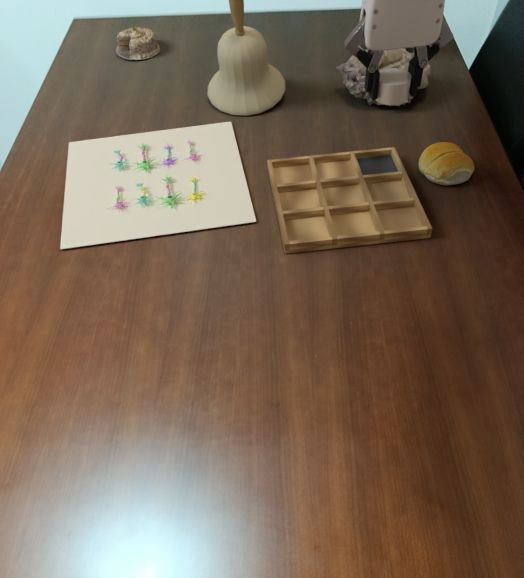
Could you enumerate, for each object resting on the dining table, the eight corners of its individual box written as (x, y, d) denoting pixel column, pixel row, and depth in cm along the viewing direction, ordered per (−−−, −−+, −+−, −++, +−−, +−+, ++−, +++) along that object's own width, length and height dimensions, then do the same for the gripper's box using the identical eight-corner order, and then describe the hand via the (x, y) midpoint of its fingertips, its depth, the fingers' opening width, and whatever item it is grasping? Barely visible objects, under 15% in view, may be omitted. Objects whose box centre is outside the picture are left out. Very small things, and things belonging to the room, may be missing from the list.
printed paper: (256, 223, 90) (256, 215, 89) (60, 251, 88) (57, 243, 87) (231, 123, 109) (230, 115, 108) (69, 143, 107) (67, 136, 105)
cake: (144, 39, 134) (141, 14, 130) (169, 53, 130) (167, 27, 126) (106, 50, 130) (102, 24, 126) (132, 65, 125) (128, 38, 121)
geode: (427, 125, 115) (384, 81, 121) (455, 80, 108) (409, 36, 114) (366, 121, 105) (324, 74, 112) (393, 72, 99) (346, 25, 105)
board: (393, 156, 100) (394, 146, 98) (430, 238, 86) (432, 228, 85) (267, 169, 99) (267, 159, 97) (284, 253, 85) (284, 244, 84)
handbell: (291, 72, 117) (286, -64, 95) (280, 124, 110) (271, -10, 88) (217, 69, 119) (195, -65, 98) (201, 120, 112) (174, -11, 91)
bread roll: (452, 151, 100) (457, 130, 97) (479, 180, 94) (485, 159, 91) (407, 161, 98) (411, 140, 95) (432, 191, 93) (437, 169, 90)
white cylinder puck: (403, 86, 86) (406, 66, 83) (412, 103, 83) (416, 82, 80) (369, 90, 85) (372, 69, 83) (378, 107, 82) (380, 86, 80)
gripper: (470, -70, 72) (441, 75, 86) (334, -58, 72) (327, 87, 86) (492, -50, 68) (457, 101, 82) (347, -37, 67) (338, 113, 81)
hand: (391, 92), depth 84 cm, fingers closed on white cylinder puck, 5 cm apart
